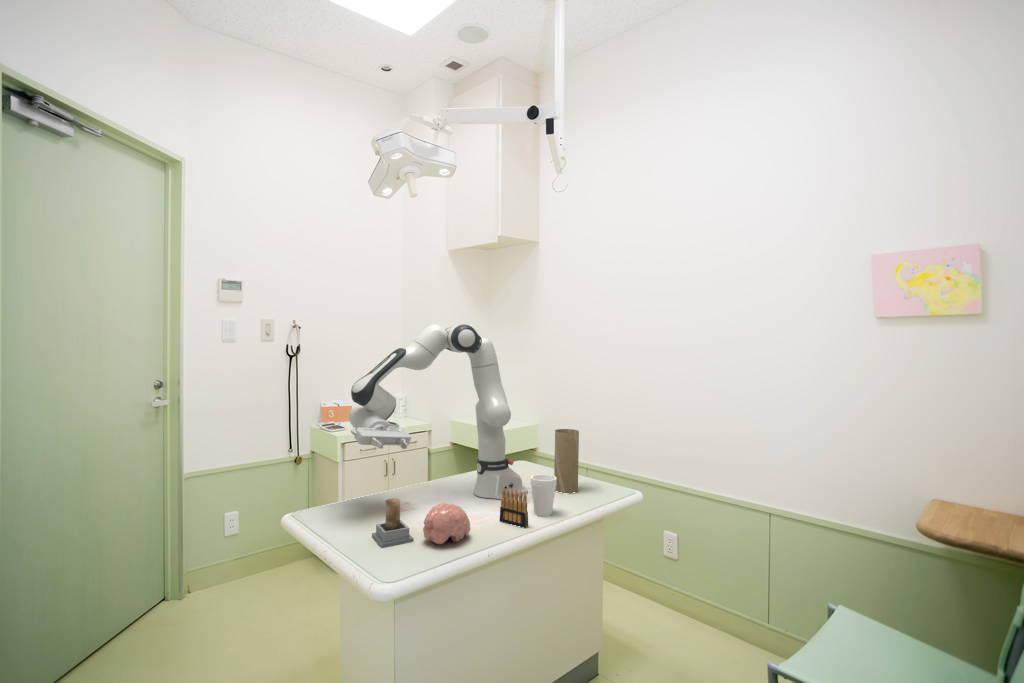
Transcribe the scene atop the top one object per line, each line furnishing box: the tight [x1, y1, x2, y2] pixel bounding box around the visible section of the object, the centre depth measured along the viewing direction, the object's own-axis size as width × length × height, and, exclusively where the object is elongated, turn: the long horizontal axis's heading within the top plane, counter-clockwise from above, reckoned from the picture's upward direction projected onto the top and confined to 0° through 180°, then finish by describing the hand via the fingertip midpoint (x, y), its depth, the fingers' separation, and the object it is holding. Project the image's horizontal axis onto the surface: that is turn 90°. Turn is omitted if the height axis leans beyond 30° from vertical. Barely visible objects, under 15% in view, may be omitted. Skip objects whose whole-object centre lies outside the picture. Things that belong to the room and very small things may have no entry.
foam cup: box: [530, 473, 557, 517], centre depth 182 cm, size 10×9×13 cm
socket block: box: [371, 519, 414, 549], centre depth 156 cm, size 10×10×4 cm
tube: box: [553, 428, 580, 494], centre depth 212 cm, size 10×10×25 cm
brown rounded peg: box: [385, 497, 401, 531], centre depth 156 cm, size 5×5×11 cm
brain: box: [422, 503, 471, 545], centre depth 157 cm, size 16×13×12 cm
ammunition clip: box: [499, 487, 529, 529], centre depth 171 cm, size 11×2×12 cm, turn 56°
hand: (393, 446), depth 172 cm, fingers open, 8 cm apart
